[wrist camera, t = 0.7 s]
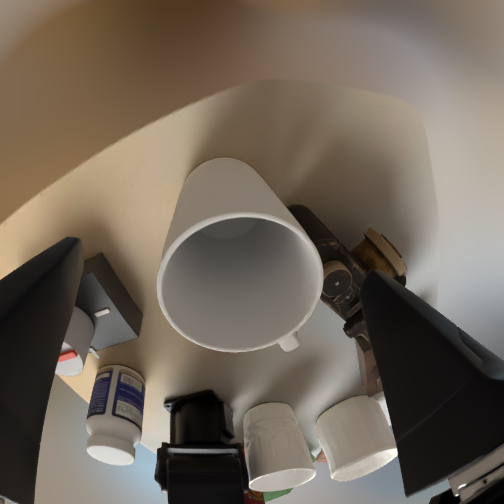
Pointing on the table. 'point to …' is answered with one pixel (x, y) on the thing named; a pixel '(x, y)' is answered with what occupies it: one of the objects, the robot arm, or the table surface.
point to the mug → (236, 263)
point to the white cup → (275, 449)
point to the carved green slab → (276, 494)
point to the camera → (349, 268)
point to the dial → (75, 344)
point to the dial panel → (107, 305)
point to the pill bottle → (115, 415)
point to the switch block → (368, 367)
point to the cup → (355, 438)
